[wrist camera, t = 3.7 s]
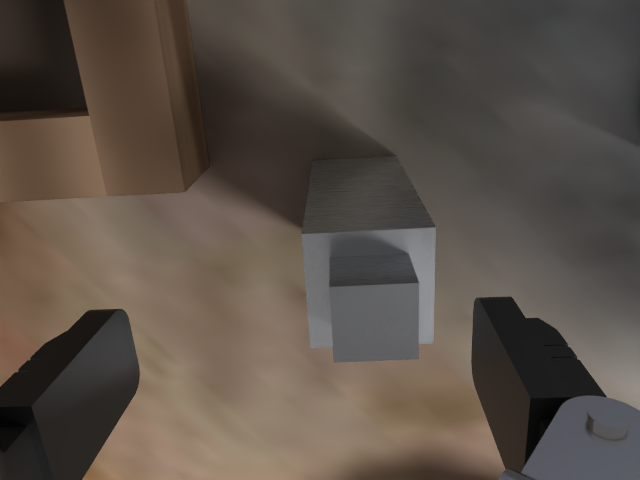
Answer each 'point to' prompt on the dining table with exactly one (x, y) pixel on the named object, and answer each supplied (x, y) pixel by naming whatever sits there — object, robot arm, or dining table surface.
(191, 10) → the dining table surface
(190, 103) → the socket block
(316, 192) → the square bit
